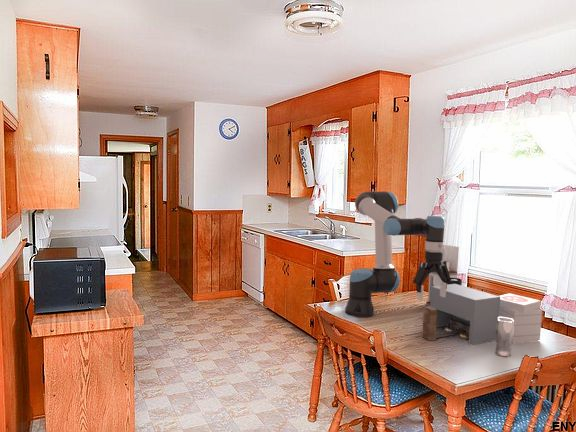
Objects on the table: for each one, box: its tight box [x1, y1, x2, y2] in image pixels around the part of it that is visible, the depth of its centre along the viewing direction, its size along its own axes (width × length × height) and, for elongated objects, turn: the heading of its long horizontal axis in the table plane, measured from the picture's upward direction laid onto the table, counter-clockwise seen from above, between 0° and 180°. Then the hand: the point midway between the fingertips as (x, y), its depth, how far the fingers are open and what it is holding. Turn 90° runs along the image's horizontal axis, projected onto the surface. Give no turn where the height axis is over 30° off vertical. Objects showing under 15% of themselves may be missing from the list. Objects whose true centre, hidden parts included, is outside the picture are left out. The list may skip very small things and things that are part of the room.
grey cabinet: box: [430, 284, 500, 346], centre depth 215 cm, size 26×16×20 cm, turn 27°
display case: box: [425, 243, 460, 306], centre depth 258 cm, size 11×11×35 cm
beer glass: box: [494, 317, 514, 358], centre depth 190 cm, size 7×7×15 cm
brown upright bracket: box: [421, 305, 470, 342], centre depth 211 cm, size 18×25×14 cm
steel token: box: [443, 325, 457, 332], centre depth 219 cm, size 5×5×2 cm
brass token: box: [458, 332, 469, 340], centre depth 211 cm, size 5×5×2 cm
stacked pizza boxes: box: [498, 293, 543, 345], centre depth 217 cm, size 19×30×18 cm, turn 15°
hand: (431, 298), depth 204 cm, fingers open, 13 cm apart
